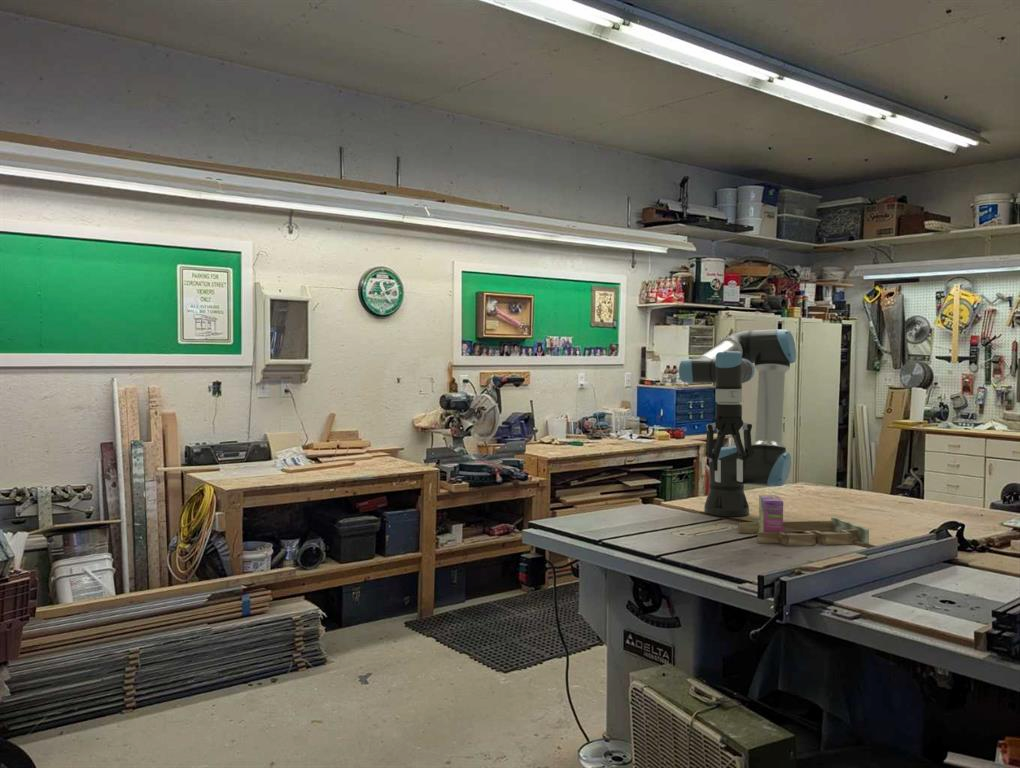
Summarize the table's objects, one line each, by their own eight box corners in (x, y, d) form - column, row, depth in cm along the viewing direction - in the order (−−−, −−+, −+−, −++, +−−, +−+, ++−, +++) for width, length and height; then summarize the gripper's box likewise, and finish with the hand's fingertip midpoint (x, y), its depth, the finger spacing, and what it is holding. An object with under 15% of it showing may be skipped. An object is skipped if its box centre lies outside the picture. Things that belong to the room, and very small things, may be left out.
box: (783, 541, 223) (783, 500, 223) (762, 540, 224) (762, 500, 224) (778, 534, 233) (778, 495, 233) (758, 533, 234) (758, 494, 234)
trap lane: (738, 532, 236) (738, 519, 235) (834, 529, 239) (834, 517, 239) (764, 546, 217) (764, 532, 217) (868, 543, 220) (868, 529, 220)
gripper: (701, 404, 222) (702, 484, 223) (765, 403, 224) (765, 482, 224) (693, 403, 230) (693, 480, 230) (754, 402, 232) (754, 479, 232)
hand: (728, 481), depth 227 cm, fingers open, 6 cm apart
